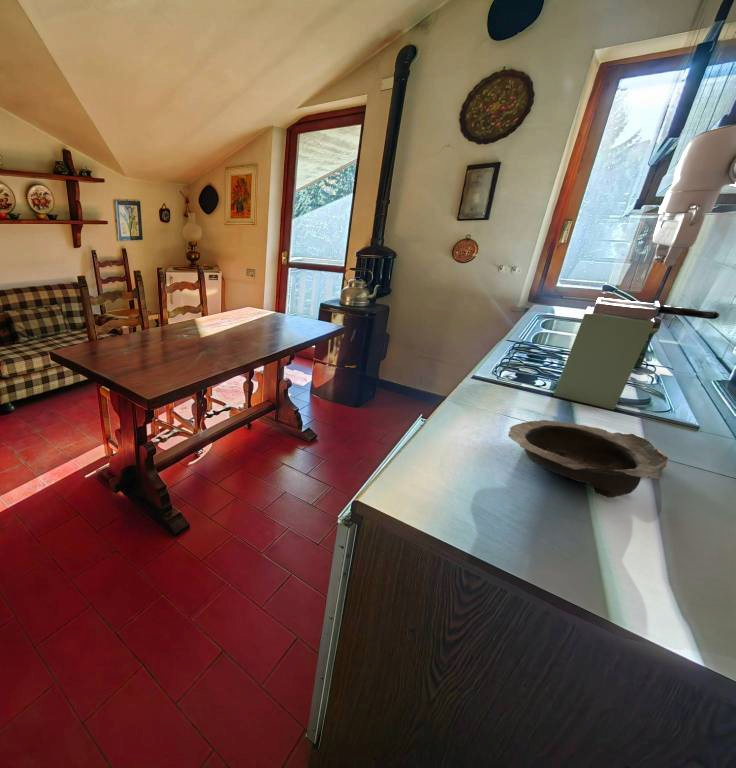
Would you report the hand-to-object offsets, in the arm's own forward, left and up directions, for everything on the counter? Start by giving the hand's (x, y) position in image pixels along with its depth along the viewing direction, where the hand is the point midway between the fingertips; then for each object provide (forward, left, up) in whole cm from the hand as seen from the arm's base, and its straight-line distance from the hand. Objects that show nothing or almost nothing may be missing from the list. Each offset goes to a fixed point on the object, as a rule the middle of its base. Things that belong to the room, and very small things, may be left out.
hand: (662, 264), depth 100 cm
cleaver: (0, -3, -14) cm, 14 cm away
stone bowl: (-24, +44, -40) cm, 65 cm away
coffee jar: (+25, -47, -40) cm, 67 cm away
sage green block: (+5, 0, -40) cm, 40 cm away
